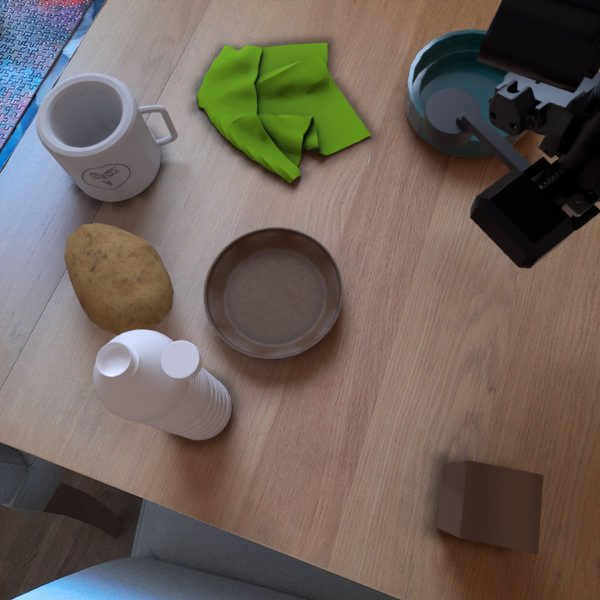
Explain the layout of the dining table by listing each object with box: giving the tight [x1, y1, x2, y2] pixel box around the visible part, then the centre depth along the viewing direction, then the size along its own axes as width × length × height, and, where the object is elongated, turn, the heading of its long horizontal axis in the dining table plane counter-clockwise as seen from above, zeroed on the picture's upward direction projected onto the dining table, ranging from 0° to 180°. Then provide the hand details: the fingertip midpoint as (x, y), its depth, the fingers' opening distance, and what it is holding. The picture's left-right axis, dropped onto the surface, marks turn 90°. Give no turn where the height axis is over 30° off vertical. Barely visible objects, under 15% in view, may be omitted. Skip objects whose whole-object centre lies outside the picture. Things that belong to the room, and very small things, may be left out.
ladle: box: [422, 88, 532, 172], centre depth 51 cm, size 16×5×4 cm, turn 37°
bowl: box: [403, 28, 528, 159], centre depth 66 cm, size 15×15×4 cm
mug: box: [35, 72, 179, 203], centre depth 64 cm, size 14×11×10 cm
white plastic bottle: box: [92, 329, 233, 441], centre depth 47 cm, size 9×6×25 cm
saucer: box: [203, 226, 344, 360], centre depth 61 cm, size 15×15×3 cm
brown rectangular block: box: [436, 459, 544, 555], centre depth 50 cm, size 6×6×10 cm
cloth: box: [196, 42, 372, 185], centre depth 68 cm, size 20×22×2 cm
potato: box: [64, 222, 175, 336], centre depth 60 cm, size 10×14×8 cm
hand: (551, 214), depth 49 cm, fingers closed on ladle
